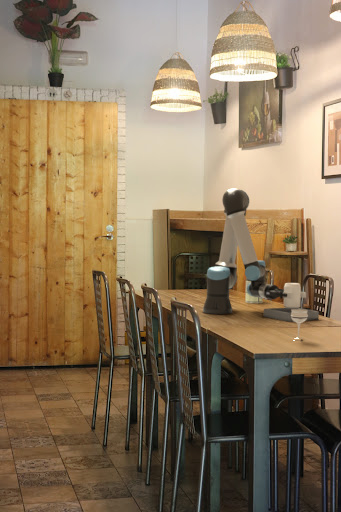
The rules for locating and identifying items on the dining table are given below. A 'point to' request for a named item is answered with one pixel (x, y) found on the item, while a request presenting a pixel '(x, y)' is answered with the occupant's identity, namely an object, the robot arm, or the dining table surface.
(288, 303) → the beverage can
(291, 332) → the dining table surface
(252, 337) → the dining table surface
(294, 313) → the wineglass
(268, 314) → the bin
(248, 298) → the coffee can
